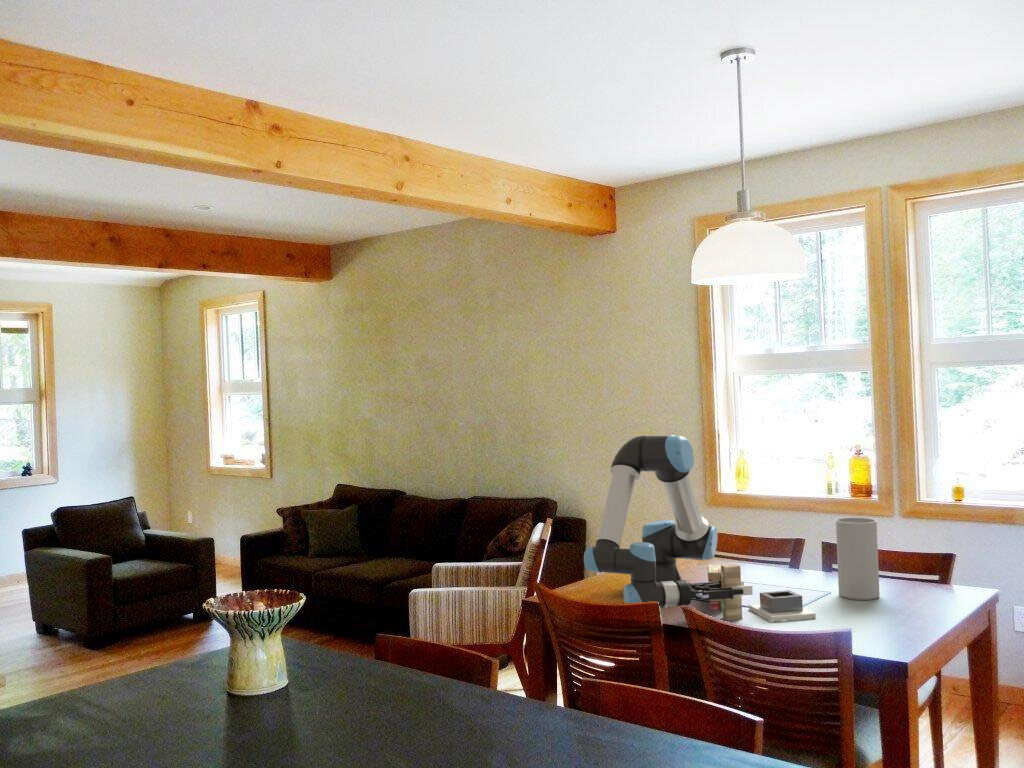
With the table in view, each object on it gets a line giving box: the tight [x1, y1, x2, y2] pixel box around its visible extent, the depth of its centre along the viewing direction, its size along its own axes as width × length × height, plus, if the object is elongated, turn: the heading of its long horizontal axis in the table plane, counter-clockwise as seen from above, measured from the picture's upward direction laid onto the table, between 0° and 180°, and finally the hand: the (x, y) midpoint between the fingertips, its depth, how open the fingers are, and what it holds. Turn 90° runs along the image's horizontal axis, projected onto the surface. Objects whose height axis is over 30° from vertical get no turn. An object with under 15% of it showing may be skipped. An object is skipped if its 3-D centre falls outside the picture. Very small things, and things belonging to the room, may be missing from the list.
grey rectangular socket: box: [759, 589, 804, 613], centre depth 272 cm, size 8×10×4 cm
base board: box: [748, 603, 817, 622], centre depth 272 cm, size 16×14×2 cm
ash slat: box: [720, 563, 743, 621], centre depth 269 cm, size 3×5×16 cm, turn 100°
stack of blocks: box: [707, 563, 727, 611], centre depth 289 cm, size 21×6×12 cm, turn 168°
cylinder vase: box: [835, 516, 881, 601], centre depth 291 cm, size 12×12×25 cm
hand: (747, 587), depth 270 cm, fingers open, 5 cm apart
